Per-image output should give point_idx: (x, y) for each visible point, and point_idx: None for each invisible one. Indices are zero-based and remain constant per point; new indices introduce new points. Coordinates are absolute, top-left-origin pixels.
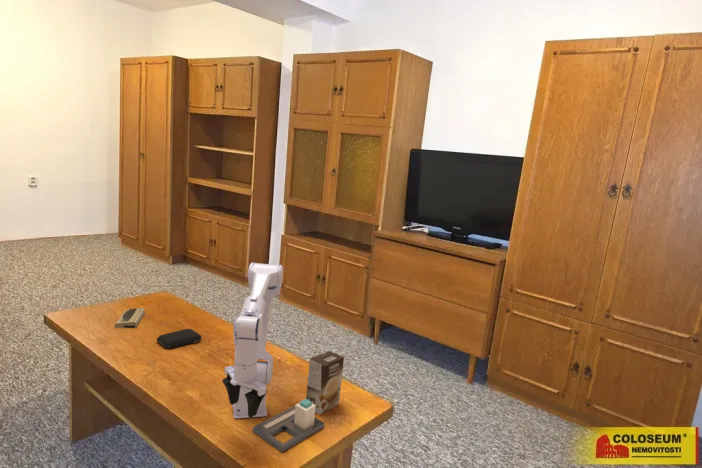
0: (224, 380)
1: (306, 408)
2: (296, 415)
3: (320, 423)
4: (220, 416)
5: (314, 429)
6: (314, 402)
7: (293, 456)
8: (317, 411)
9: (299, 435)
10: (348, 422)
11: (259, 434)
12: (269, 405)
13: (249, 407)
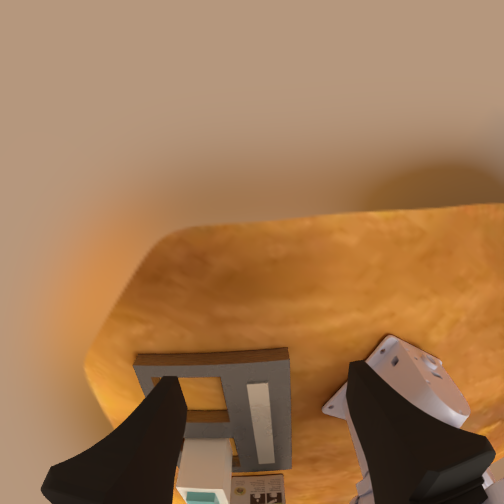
0: (475, 464)
1: (186, 492)
2: (217, 462)
3: None
4: (429, 303)
5: None
6: (251, 496)
7: (111, 363)
8: (238, 481)
9: None
10: None
11: (251, 355)
12: None
13: (132, 421)
